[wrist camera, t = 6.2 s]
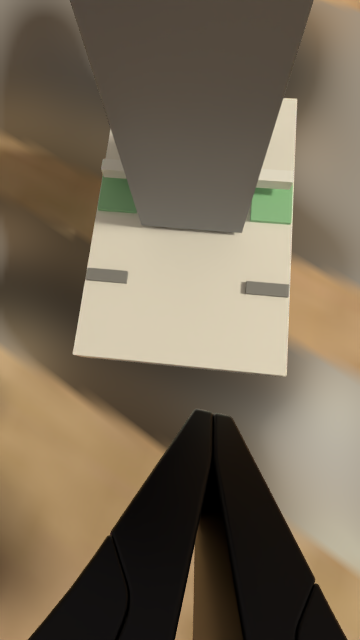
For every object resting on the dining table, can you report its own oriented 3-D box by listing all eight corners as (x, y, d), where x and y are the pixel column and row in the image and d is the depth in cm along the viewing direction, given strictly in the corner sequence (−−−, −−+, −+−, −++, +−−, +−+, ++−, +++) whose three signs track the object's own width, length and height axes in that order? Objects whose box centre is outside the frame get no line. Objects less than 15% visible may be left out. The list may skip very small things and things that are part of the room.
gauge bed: (280, 377, 16) (345, 367, 9) (81, 356, 17) (0, 333, 10) (290, 116, 19) (346, -41, 12) (121, 107, 20) (82, -48, 13)
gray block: (284, 236, 16) (424, 2, 6) (100, 222, 17) (-31, -13, 7) (288, 147, 17) (414, -173, 7) (114, 136, 18) (16, -175, 8)
